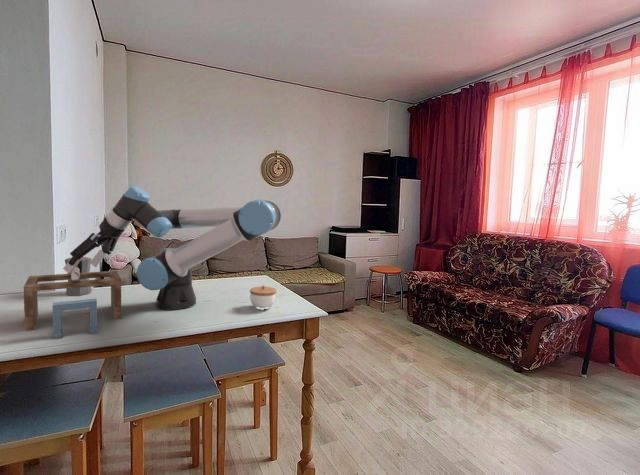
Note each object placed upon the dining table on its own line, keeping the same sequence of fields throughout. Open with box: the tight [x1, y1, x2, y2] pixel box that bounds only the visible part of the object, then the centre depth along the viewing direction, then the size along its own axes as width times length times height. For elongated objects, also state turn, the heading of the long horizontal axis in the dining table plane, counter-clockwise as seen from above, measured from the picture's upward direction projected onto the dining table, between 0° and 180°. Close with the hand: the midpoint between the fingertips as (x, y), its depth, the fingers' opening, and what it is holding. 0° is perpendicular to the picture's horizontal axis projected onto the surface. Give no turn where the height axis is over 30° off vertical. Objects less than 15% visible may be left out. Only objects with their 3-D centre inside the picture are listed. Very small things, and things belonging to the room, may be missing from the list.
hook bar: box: [71, 267, 80, 283], centre depth 119 cm, size 2×15×2 cm, turn 35°
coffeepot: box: [64, 256, 93, 297], centre depth 146 cm, size 15×9×18 cm, turn 39°
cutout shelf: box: [23, 270, 122, 332], centre depth 120 cm, size 26×16×14 cm, turn 125°
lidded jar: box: [249, 285, 277, 308], centre depth 141 cm, size 11×11×9 cm
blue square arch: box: [52, 298, 99, 340], centre depth 106 cm, size 11×5×10 cm, turn 125°
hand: (80, 267), depth 126 cm, fingers open, 12 cm apart
